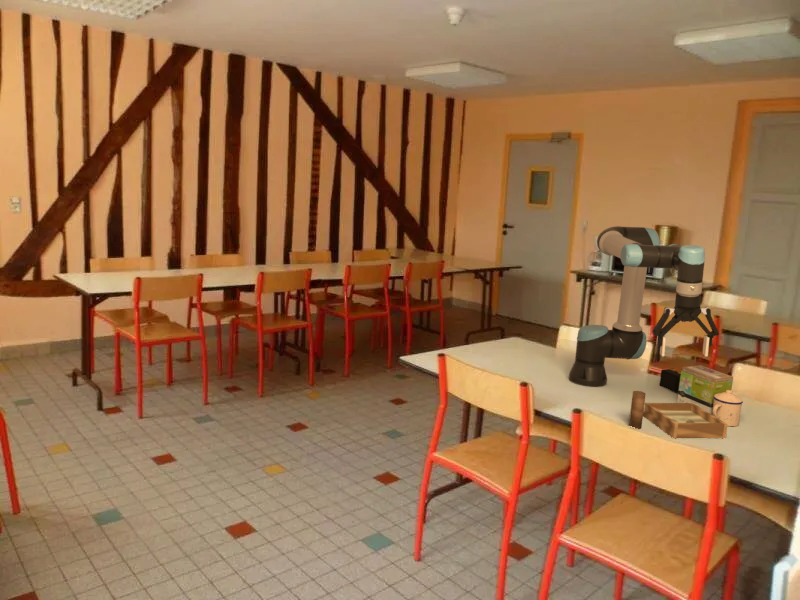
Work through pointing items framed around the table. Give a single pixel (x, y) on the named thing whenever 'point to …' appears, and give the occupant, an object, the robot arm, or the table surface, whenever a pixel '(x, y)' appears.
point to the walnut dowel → (637, 409)
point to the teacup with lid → (727, 407)
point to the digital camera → (670, 380)
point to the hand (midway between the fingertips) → (683, 355)
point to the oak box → (684, 420)
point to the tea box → (702, 386)
